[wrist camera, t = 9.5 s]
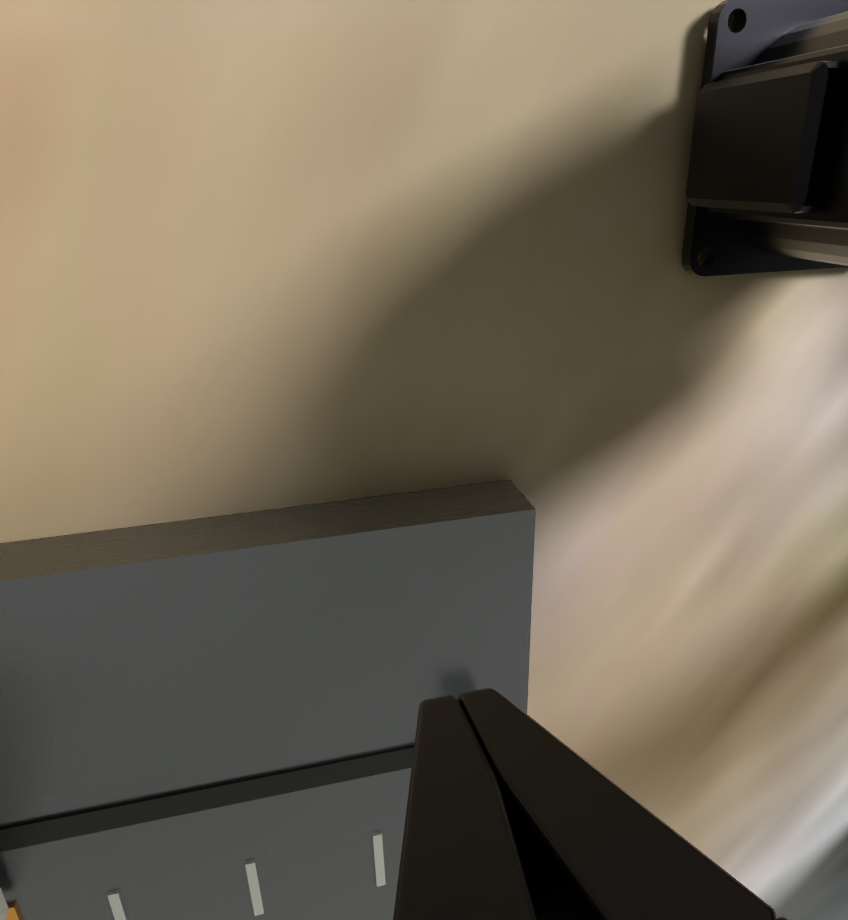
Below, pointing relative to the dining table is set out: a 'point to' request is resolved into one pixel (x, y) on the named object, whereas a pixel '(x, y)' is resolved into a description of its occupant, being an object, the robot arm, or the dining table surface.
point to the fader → (3, 907)
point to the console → (243, 700)
